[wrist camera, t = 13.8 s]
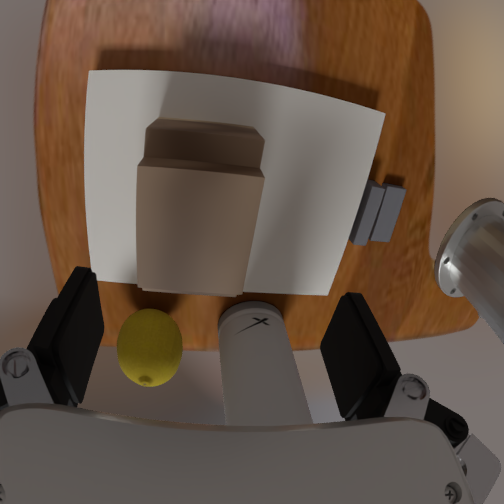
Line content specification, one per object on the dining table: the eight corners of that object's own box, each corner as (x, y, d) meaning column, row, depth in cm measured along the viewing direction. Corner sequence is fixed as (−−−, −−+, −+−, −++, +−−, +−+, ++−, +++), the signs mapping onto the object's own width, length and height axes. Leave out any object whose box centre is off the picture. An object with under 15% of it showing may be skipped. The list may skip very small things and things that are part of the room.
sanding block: (253, 126, 19) (271, 147, 14) (230, 259, 24) (238, 313, 19) (158, 116, 18) (139, 134, 13) (151, 253, 23) (138, 307, 18)
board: (375, 110, 20) (385, 113, 19) (322, 285, 29) (327, 295, 27) (96, 70, 16) (89, 70, 15) (97, 269, 24) (92, 279, 23)
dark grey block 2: (387, 186, 23) (380, 181, 24) (370, 240, 26) (364, 233, 27) (406, 189, 24) (399, 184, 25) (388, 242, 26) (382, 235, 27)
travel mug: (246, 286, 27) (296, 528, 11) (295, 319, 30) (358, 518, 14) (201, 326, 29) (215, 542, 12) (250, 353, 32) (285, 539, 15)
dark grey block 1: (385, 189, 22) (372, 186, 22) (365, 245, 25) (353, 244, 24) (373, 180, 24) (361, 177, 24) (356, 233, 26) (344, 232, 26)
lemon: (131, 283, 26) (113, 354, 19) (191, 300, 27) (190, 372, 21) (121, 325, 28) (107, 393, 21) (175, 339, 30) (172, 408, 23)
